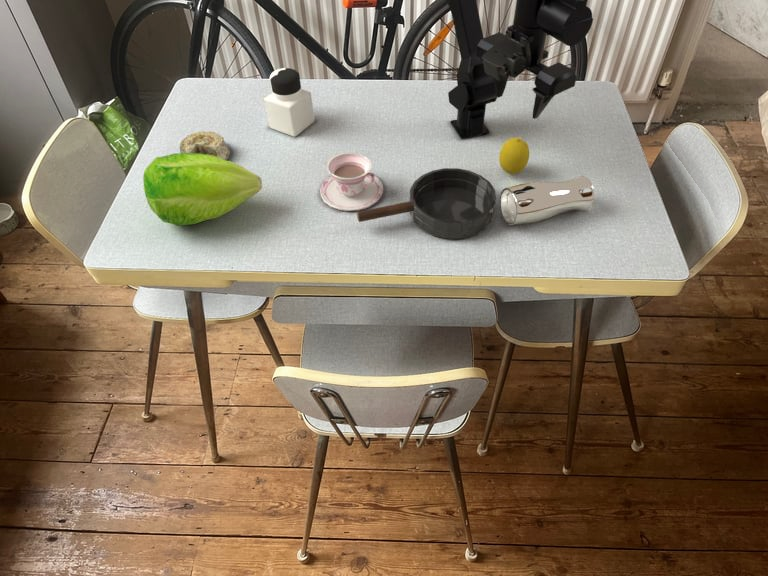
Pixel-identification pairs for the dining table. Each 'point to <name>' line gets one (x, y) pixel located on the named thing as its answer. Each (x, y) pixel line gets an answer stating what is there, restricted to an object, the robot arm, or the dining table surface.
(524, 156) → the lemon
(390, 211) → the pan handle
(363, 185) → the teacup
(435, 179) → the pan
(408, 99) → the dining table surface
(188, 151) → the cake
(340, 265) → the dining table surface
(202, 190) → the lettuce
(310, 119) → the medicine bottle
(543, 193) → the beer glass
